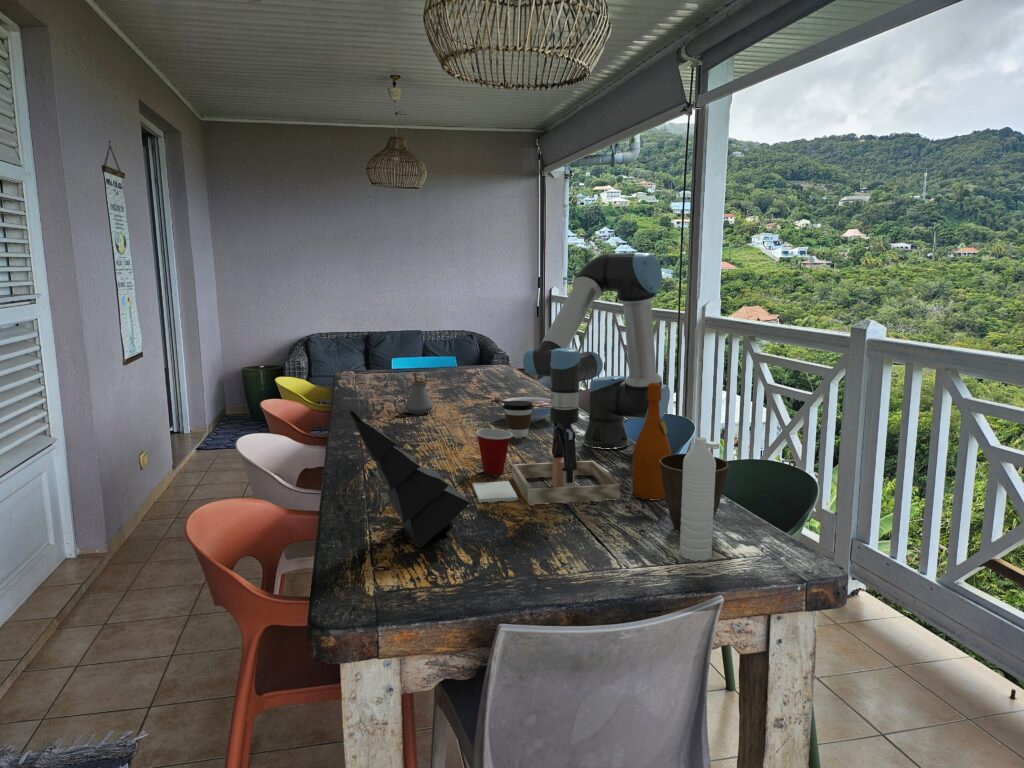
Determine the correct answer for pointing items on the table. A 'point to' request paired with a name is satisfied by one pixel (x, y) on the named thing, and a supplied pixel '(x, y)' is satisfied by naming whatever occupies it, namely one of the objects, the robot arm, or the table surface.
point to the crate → (565, 494)
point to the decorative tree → (412, 487)
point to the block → (558, 472)
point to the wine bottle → (650, 450)
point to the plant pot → (673, 483)
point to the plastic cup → (493, 449)
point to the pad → (494, 491)
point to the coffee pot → (419, 398)
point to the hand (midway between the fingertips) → (563, 487)
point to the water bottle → (698, 501)
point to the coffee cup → (518, 417)
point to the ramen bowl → (540, 405)
